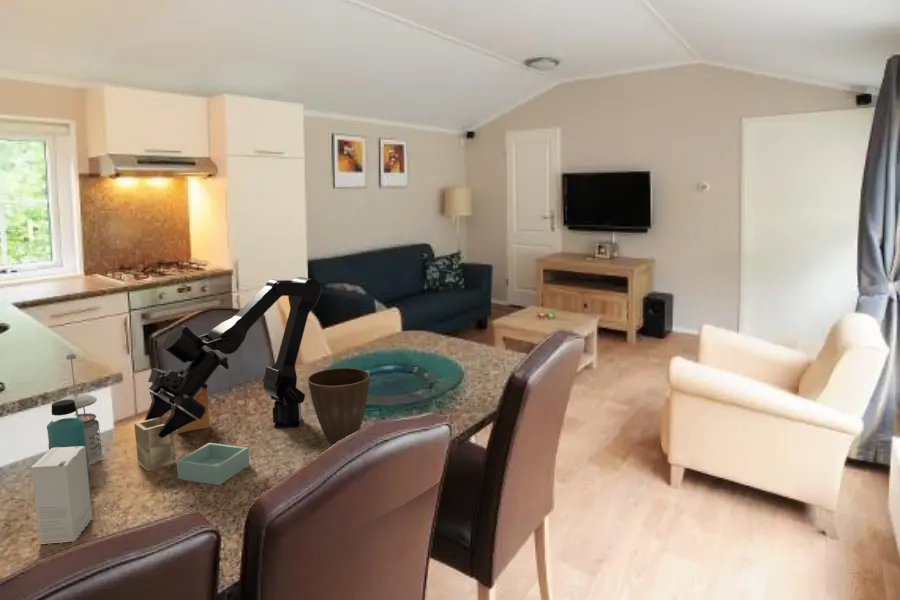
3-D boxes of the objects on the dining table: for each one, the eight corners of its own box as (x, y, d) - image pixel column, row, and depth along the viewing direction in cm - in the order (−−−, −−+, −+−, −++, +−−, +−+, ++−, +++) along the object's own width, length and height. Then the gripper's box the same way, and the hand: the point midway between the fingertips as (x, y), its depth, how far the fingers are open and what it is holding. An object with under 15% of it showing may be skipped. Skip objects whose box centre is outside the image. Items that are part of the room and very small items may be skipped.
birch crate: (165, 455, 143) (161, 416, 141) (175, 462, 139) (172, 422, 137) (138, 463, 139) (134, 423, 137) (147, 471, 134) (144, 430, 133)
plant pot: (344, 455, 141) (341, 389, 139) (297, 442, 149) (294, 379, 147) (383, 434, 154) (382, 373, 151) (339, 423, 162) (336, 365, 159)
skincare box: (59, 522, 113) (50, 446, 111) (95, 519, 114) (86, 443, 112) (38, 547, 105) (27, 466, 103) (76, 543, 106) (66, 463, 104)
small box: (177, 434, 155) (173, 384, 153) (172, 426, 161) (168, 378, 159) (210, 427, 160) (207, 379, 158) (205, 420, 165) (201, 373, 163)
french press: (55, 471, 135) (42, 361, 131) (60, 452, 145) (48, 349, 141) (106, 462, 139) (94, 355, 135) (107, 444, 149) (97, 344, 145)
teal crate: (210, 459, 140) (209, 442, 140) (249, 464, 137) (248, 447, 136) (178, 478, 130) (176, 461, 130) (219, 485, 127) (217, 467, 127)
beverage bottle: (65, 490, 126) (53, 396, 123) (98, 488, 126) (88, 395, 123) (47, 505, 120) (34, 407, 116) (82, 503, 120) (71, 406, 117)
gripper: (154, 347, 145) (108, 403, 139) (187, 361, 132) (138, 424, 126) (190, 373, 151) (147, 427, 145) (225, 389, 139) (179, 449, 132)
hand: (152, 431), depth 137 cm, fingers open, 9 cm apart
